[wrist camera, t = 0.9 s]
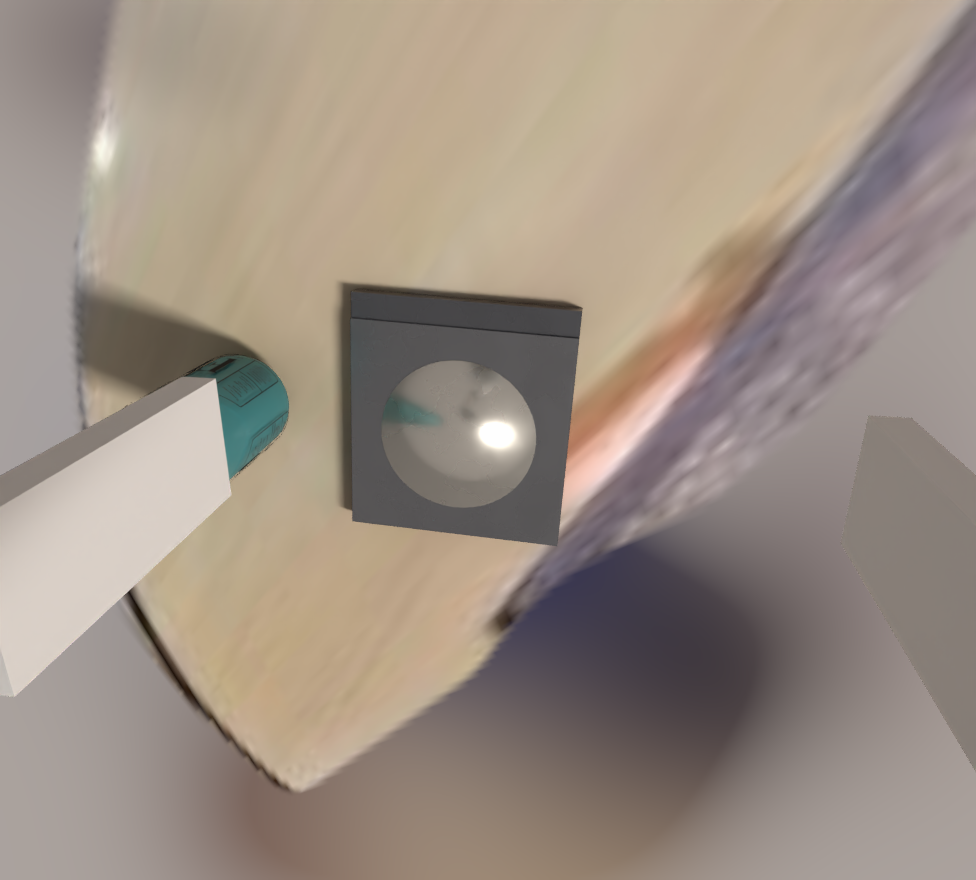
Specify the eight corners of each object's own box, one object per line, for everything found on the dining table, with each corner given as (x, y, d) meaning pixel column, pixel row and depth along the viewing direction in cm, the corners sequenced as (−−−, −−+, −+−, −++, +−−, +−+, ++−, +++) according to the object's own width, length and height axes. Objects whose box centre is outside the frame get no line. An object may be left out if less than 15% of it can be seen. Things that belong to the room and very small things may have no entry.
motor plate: (356, 288, 45) (349, 292, 44) (582, 308, 44) (581, 312, 43) (357, 513, 51) (352, 521, 50) (558, 537, 50) (557, 546, 48)
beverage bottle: (265, 328, 47) (50, 437, 29) (321, 415, 49) (152, 572, 30) (190, 373, 49) (-58, 502, 31) (246, 455, 51) (44, 625, 32)
